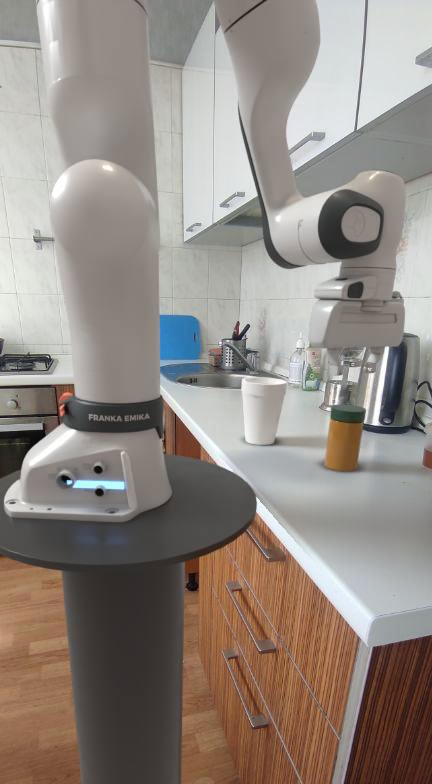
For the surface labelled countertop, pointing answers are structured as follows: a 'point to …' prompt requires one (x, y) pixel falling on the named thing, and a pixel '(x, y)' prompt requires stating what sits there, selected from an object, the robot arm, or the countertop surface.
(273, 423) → the foam cup
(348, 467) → the jar
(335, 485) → the countertop surface
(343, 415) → the lid
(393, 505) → the countertop surface
